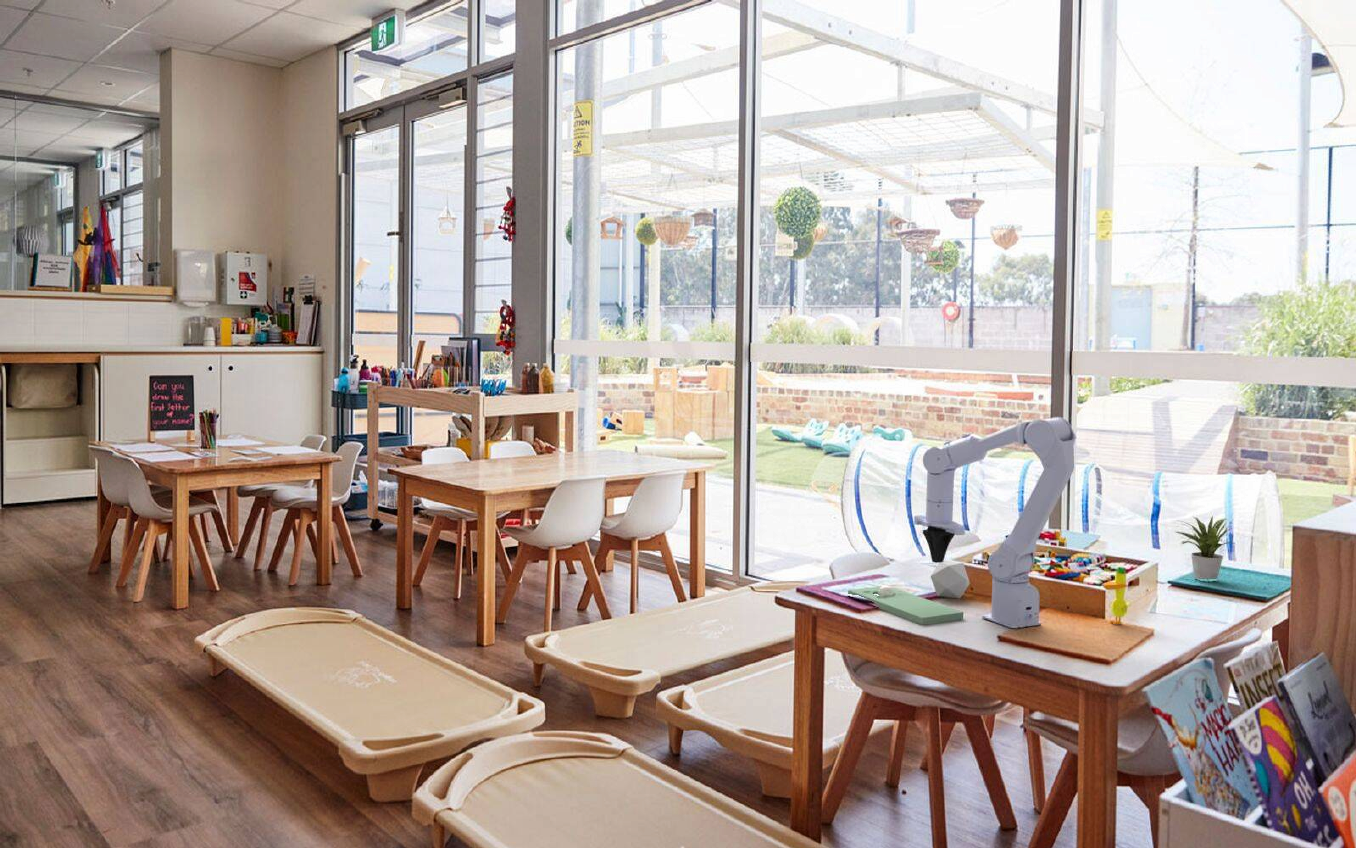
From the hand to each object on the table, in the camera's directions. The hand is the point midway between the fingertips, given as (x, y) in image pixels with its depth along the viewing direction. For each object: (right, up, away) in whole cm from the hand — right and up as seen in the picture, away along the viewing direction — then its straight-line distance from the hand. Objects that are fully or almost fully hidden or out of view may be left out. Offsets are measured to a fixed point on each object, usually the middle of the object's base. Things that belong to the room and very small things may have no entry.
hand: (937, 562), depth 239 cm
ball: (-10, -8, +5) cm, 14 cm away
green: (-8, -10, -1) cm, 13 cm away
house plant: (+74, -8, +31) cm, 81 cm away
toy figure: (+34, -12, -12) cm, 38 cm away
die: (+5, -9, +10) cm, 15 cm away
